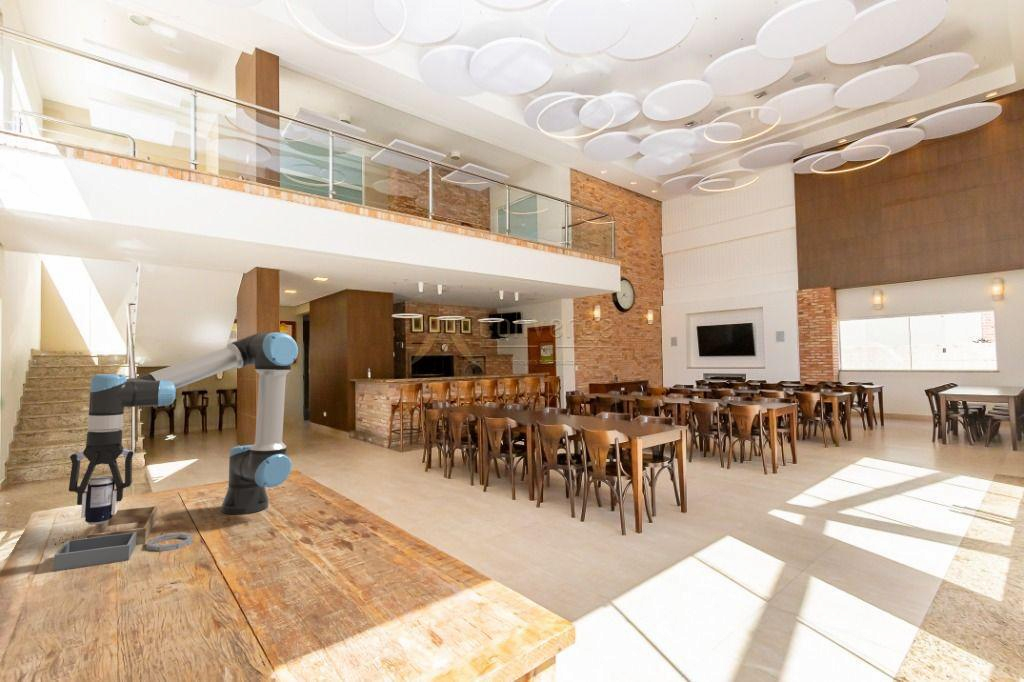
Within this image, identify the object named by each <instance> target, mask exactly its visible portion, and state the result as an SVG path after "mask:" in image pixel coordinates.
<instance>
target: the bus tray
mask: <svg viewBox="0 0 1024 682" xmlns="http://www.w3.org/2000/svg"><path fill="white" fill-rule="evenodd" d="M136 536H137V532H132V533H124V534H116V535H108V536H100V537H92V538H87V537H85V538H77V539H70V540H67V541H66V542H65V543H64V544H63V545H62V546H61V547H60V548H59V550H58V551H57V552H56V553H55V554H54V558H53V572H57V571H56V570H58V571H63V570H64V569H65V570H70V569H77V568H85V567H91V566H98V565H104V564H111V563H118V562H125V561H129V560H130V558H131V556H132V554H133V553H134V551H135V549H136V547H137V545H136ZM65 570H64V571H65Z"/></svg>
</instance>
